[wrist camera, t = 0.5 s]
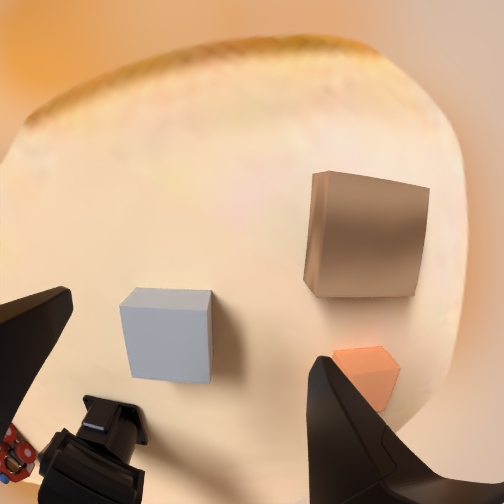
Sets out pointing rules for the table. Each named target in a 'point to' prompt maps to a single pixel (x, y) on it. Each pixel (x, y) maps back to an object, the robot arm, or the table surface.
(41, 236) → the table surface
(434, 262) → the table surface
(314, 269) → the walnut base
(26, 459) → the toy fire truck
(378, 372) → the terracotta block
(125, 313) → the grey block
